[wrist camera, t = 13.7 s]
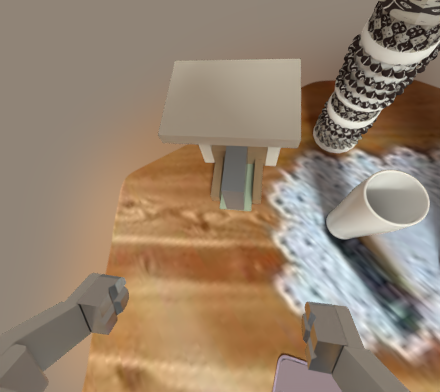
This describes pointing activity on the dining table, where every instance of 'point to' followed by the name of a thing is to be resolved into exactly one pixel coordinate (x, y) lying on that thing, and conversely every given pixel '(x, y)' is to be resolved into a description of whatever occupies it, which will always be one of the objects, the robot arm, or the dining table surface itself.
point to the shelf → (235, 113)
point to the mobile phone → (301, 377)
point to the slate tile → (235, 177)
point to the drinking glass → (380, 206)
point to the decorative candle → (378, 69)
